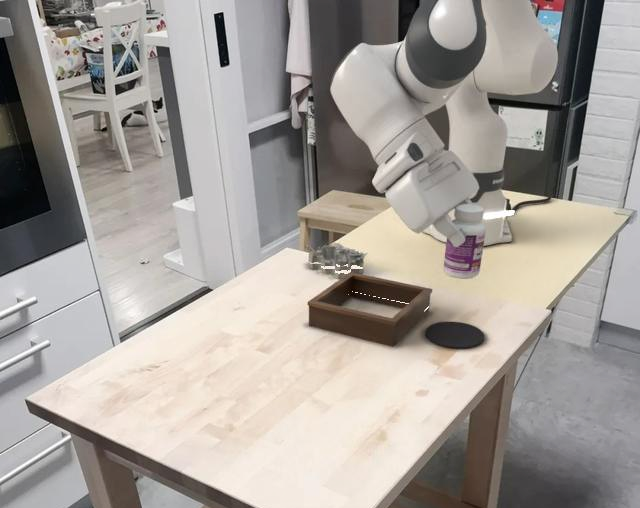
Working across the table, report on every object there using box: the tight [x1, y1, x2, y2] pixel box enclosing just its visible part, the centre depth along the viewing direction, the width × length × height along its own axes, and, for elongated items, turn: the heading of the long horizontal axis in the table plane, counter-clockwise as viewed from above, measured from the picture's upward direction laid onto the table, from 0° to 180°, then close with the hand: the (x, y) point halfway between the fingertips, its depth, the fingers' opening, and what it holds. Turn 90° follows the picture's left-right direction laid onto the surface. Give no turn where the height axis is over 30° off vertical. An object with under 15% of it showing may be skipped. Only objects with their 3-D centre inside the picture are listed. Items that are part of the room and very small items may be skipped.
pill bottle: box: [442, 204, 486, 280], centre depth 103 cm, size 5×5×10 cm
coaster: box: [425, 321, 485, 350], centre depth 111 cm, size 9×9×1 cm
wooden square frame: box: [307, 272, 433, 347], centre depth 115 cm, size 15×15×4 cm
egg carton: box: [304, 242, 369, 280], centre depth 133 cm, size 11×8×4 cm
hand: (470, 237), depth 102 cm, fingers closed on pill bottle, 5 cm apart
